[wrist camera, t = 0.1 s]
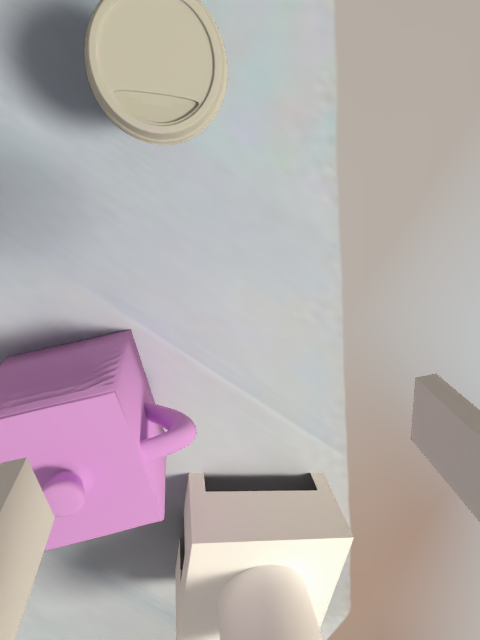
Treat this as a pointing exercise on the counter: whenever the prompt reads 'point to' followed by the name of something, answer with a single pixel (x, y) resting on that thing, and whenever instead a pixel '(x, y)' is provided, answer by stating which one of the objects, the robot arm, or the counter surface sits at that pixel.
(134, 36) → the coffee cup
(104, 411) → the teapot
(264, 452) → the counter surface
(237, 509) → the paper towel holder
